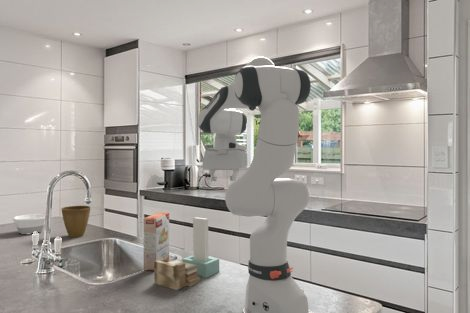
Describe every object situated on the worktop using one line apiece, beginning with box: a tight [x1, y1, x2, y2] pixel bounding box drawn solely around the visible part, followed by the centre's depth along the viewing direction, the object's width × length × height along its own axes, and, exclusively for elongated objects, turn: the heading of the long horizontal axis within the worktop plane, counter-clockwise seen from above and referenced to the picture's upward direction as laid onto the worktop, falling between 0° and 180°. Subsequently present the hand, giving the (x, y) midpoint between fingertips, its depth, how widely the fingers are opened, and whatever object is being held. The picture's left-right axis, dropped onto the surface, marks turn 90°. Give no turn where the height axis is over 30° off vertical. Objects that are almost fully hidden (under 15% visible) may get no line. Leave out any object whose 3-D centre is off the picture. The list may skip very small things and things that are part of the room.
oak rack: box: [153, 258, 187, 291], centre depth 131 cm, size 11×4×8 cm, turn 54°
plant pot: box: [61, 205, 91, 238], centre depth 205 cm, size 15×15×16 cm
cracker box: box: [143, 212, 170, 271], centre depth 153 cm, size 14×6×21 cm, turn 168°
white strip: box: [192, 216, 210, 262], centre depth 144 cm, size 6×2×20 cm, turn 54°
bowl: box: [12, 213, 46, 235], centre depth 216 cm, size 18×18×9 cm
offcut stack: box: [167, 259, 200, 287], centre depth 135 cm, size 14×5×6 cm, turn 54°
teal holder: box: [182, 254, 220, 278], centre depth 145 cm, size 12×8×5 cm, turn 54°
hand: (223, 181), depth 146 cm, fingers open, 8 cm apart
